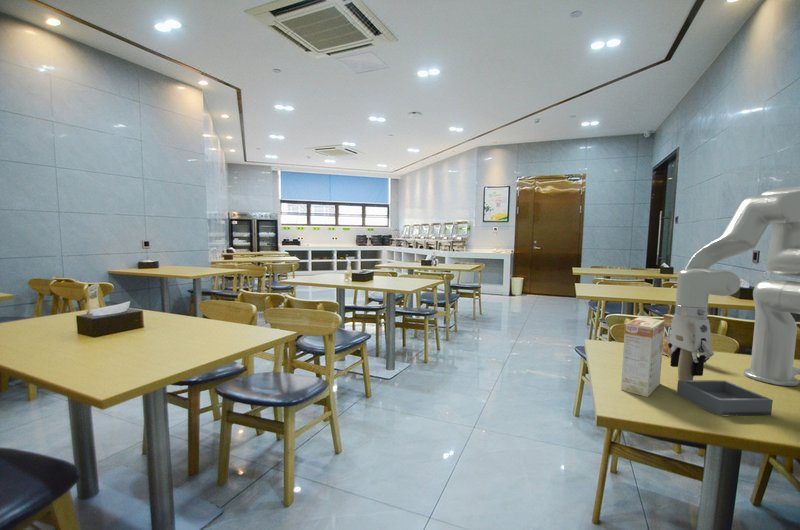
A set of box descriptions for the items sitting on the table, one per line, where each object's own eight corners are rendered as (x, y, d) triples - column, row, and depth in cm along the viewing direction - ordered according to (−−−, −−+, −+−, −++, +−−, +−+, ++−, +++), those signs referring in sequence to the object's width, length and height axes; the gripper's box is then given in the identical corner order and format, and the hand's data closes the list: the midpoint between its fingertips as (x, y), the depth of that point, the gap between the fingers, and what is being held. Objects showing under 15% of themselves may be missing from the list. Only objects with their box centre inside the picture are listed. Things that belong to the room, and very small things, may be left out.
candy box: (659, 353, 146) (662, 314, 145) (669, 353, 147) (672, 314, 146) (678, 361, 138) (681, 319, 137) (689, 361, 138) (692, 319, 137)
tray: (723, 394, 108) (724, 380, 108) (771, 415, 95) (772, 399, 95) (676, 394, 107) (677, 380, 107) (718, 416, 94) (719, 400, 94)
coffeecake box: (634, 377, 120) (638, 316, 118) (661, 384, 115) (666, 320, 113) (619, 389, 109) (623, 322, 108) (648, 397, 104) (653, 327, 103)
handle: (695, 390, 110) (699, 339, 109) (669, 383, 115) (673, 334, 114) (700, 387, 113) (704, 337, 112) (675, 380, 118) (679, 332, 117)
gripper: (730, 318, 104) (724, 381, 105) (679, 306, 121) (674, 361, 123) (704, 317, 103) (698, 381, 105) (656, 306, 121) (652, 361, 122)
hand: (686, 370), depth 114 cm, fingers open, 6 cm apart
